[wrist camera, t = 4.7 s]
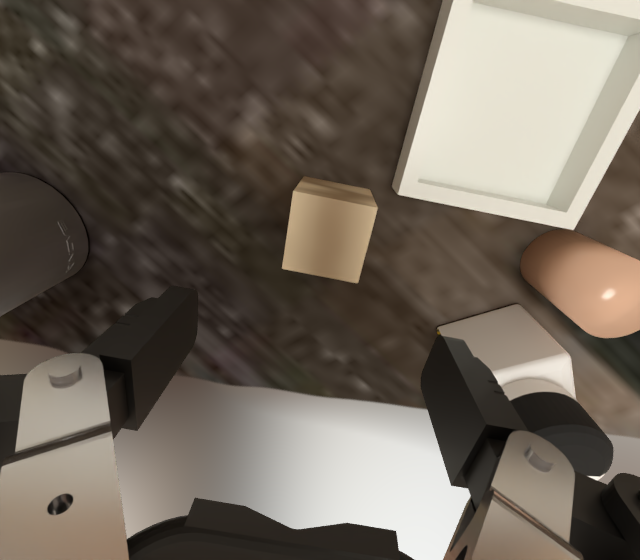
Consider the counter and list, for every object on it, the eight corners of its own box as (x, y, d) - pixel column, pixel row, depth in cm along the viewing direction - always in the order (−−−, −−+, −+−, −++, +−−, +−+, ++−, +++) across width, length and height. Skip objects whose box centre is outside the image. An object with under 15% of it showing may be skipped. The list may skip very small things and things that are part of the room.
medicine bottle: (434, 325, 29) (489, 445, 18) (519, 301, 28) (633, 415, 17) (452, 383, 32) (510, 517, 21) (530, 364, 30) (636, 497, 19)
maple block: (294, 239, 26) (281, 268, 21) (303, 175, 24) (293, 190, 19) (354, 250, 27) (357, 283, 21) (369, 189, 24) (377, 207, 19)
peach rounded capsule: (509, 281, 27) (560, 329, 21) (538, 223, 25) (605, 257, 18) (567, 292, 27) (637, 344, 21) (601, 236, 25) (689, 274, 19)
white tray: (391, 186, 24) (397, 194, 21) (448, -22, 19) (466, -46, 16) (547, 218, 24) (573, 230, 22) (646, 21, 19) (696, 5, 17)
